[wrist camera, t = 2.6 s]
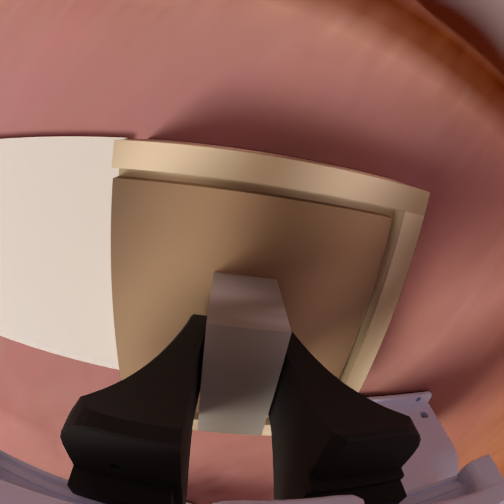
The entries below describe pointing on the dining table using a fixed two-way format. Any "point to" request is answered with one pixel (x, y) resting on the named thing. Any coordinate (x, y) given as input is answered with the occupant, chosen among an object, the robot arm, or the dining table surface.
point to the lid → (238, 285)
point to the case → (305, 187)
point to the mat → (58, 245)
